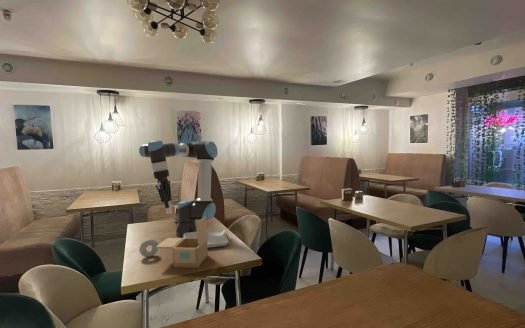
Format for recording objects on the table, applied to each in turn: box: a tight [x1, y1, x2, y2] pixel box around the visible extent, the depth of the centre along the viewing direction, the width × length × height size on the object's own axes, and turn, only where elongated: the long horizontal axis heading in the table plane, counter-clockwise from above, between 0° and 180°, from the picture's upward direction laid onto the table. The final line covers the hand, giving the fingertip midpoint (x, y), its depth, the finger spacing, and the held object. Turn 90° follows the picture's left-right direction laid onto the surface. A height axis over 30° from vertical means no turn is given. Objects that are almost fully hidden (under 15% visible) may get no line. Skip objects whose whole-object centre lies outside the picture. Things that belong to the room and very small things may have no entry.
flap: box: [196, 216, 208, 247], centre depth 140 cm, size 13×12×1 cm
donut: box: [139, 238, 159, 258], centre depth 150 cm, size 10×4×10 cm, turn 125°
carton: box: [156, 237, 209, 269], centre depth 142 cm, size 16×22×10 cm
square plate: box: [182, 228, 229, 249], centre depth 170 cm, size 27×27×4 cm
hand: (169, 213), depth 144 cm, fingers closed
